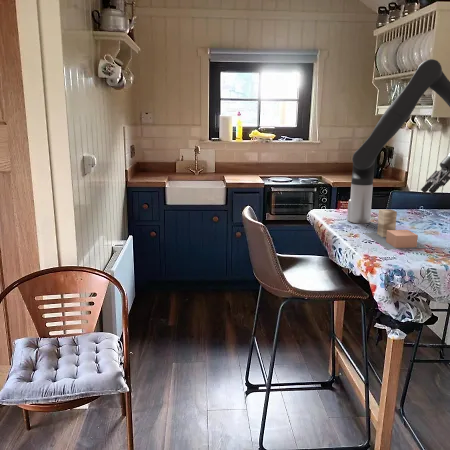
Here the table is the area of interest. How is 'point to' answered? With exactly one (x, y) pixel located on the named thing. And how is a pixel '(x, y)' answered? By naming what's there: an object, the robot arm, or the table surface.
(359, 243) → the table surface
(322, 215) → the table surface
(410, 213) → the table surface
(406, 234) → the base block
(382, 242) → the build mat
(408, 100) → the robot arm
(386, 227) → the pillar
